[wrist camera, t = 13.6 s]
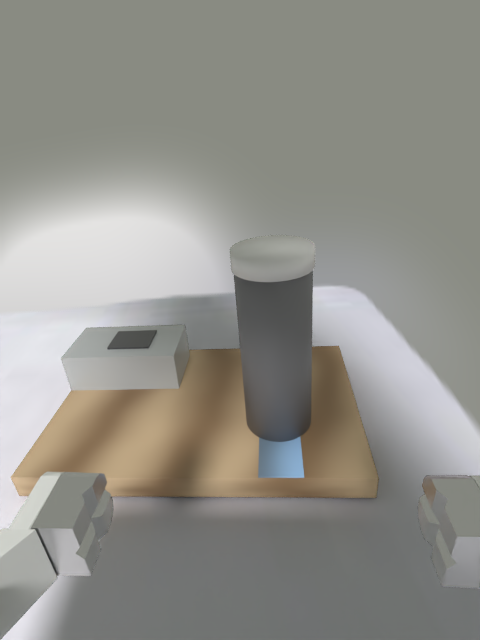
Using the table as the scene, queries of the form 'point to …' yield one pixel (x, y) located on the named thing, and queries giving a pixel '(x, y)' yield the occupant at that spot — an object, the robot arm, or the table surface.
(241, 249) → the peg
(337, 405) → the board
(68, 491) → the robot arm
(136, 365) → the block
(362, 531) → the table surface
